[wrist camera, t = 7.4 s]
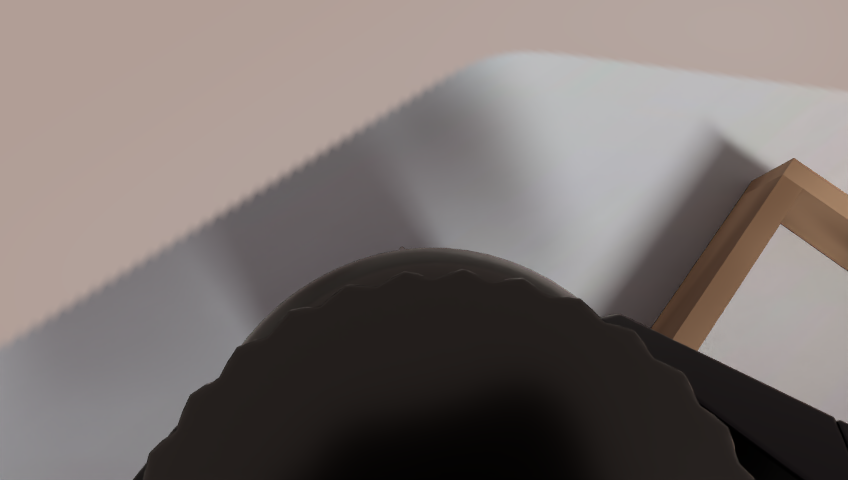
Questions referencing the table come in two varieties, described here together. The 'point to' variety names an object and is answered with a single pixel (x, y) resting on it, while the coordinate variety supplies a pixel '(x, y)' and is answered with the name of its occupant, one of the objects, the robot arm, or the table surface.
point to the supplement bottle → (443, 386)
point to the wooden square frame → (756, 244)
